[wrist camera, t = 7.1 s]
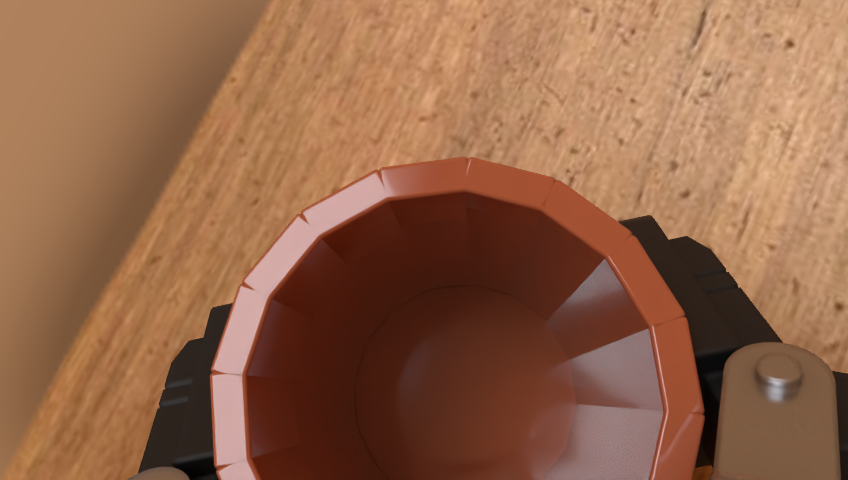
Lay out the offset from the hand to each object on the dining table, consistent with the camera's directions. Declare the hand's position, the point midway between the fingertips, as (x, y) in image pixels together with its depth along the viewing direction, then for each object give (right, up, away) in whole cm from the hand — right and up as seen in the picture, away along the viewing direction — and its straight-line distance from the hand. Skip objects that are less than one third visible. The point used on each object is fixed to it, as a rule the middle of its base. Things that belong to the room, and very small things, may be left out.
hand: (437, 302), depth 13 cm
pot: (+1, -3, +5) cm, 6 cm away
